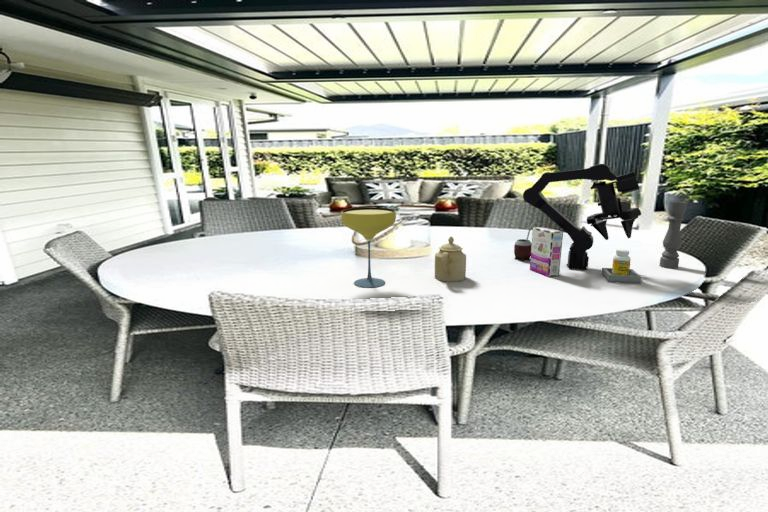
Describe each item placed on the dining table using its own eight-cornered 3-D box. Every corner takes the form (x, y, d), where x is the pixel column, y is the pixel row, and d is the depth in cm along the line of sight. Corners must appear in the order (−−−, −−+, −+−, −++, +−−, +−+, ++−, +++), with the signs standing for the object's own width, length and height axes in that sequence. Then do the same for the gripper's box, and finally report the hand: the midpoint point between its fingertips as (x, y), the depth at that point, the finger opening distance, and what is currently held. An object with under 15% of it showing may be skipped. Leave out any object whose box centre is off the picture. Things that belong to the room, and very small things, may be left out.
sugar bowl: (472, 284, 150) (474, 241, 146) (440, 285, 148) (441, 242, 145) (460, 272, 164) (462, 233, 160) (431, 273, 163) (432, 233, 159)
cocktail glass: (356, 273, 163) (355, 206, 157) (403, 278, 157) (403, 208, 151) (333, 287, 147) (331, 213, 141) (384, 293, 140) (384, 215, 134)
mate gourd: (513, 261, 181) (515, 225, 177) (513, 256, 188) (515, 221, 185) (532, 262, 179) (535, 225, 175) (532, 257, 186) (534, 222, 182)
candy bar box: (560, 276, 159) (564, 231, 155) (548, 277, 157) (552, 232, 154) (539, 268, 169) (543, 226, 165) (528, 269, 168) (532, 227, 164)
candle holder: (681, 268, 168) (692, 202, 162) (665, 268, 168) (675, 203, 162) (671, 264, 174) (681, 201, 168) (655, 264, 174) (664, 201, 168)
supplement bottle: (623, 274, 158) (626, 248, 155) (631, 279, 152) (635, 252, 150) (608, 275, 158) (611, 248, 155) (616, 279, 152) (619, 252, 150)
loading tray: (608, 282, 151) (609, 275, 151) (601, 274, 161) (602, 267, 160) (640, 283, 149) (641, 276, 149) (631, 275, 159) (632, 269, 158)
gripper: (646, 188, 155) (656, 230, 156) (601, 196, 172) (610, 234, 173) (625, 195, 150) (635, 239, 152) (581, 203, 168) (591, 242, 169)
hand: (618, 238), depth 162 cm, fingers open, 9 cm apart
